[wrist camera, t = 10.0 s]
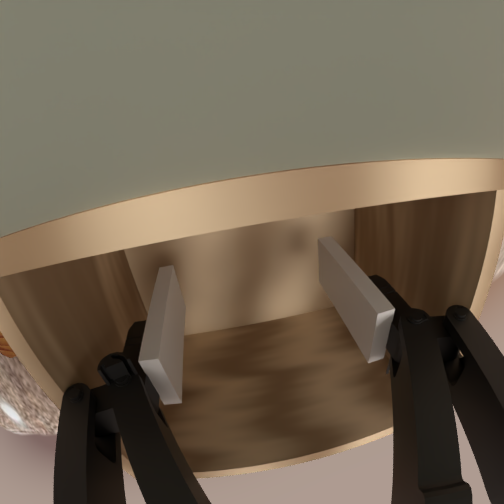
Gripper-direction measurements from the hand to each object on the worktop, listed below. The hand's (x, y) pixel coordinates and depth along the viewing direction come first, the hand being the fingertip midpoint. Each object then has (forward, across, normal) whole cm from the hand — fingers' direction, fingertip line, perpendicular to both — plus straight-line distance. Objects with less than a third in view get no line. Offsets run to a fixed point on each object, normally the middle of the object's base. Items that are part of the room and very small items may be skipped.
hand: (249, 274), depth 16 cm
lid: (-8, 0, +7) cm, 10 cm away
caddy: (+4, 0, 0) cm, 4 cm away
